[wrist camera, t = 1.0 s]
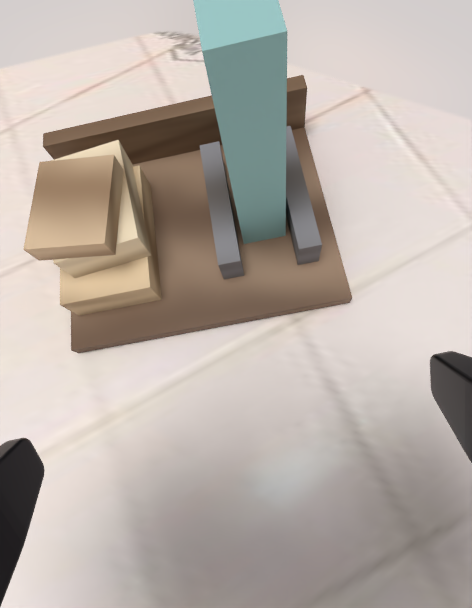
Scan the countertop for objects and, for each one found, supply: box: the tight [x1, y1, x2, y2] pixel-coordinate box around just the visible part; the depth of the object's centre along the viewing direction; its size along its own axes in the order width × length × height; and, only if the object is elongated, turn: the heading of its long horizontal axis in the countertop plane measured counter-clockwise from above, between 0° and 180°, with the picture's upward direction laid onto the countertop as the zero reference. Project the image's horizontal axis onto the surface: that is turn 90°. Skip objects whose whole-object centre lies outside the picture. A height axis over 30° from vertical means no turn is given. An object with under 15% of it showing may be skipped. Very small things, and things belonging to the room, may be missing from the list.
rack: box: [24, 75, 352, 353], centre depth 21 cm, size 13×16×6 cm
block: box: [193, 0, 287, 244], centre depth 17 cm, size 4×2×12 cm, turn 9°
